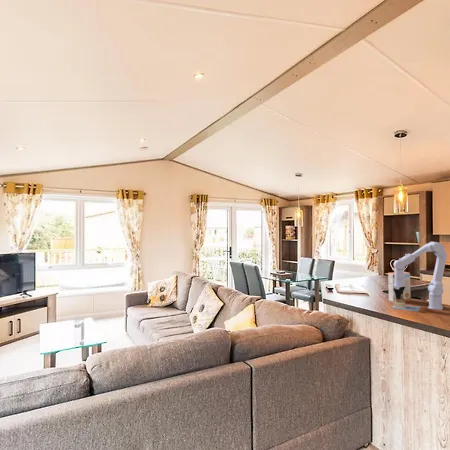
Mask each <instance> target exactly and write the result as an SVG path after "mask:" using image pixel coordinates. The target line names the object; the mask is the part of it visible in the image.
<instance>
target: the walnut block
mask: <svg viewBox="0 0 450 450" xmlns="http://www.w3.org/2000/svg"><path fill="white" fill-rule="evenodd" d="M396 302H398V303H403V294H401V298H400V300H399V299H396Z"/></svg>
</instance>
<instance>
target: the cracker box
mask: <svg viewBox="0 0 450 450" xmlns="http://www.w3.org/2000/svg"><path fill="white" fill-rule="evenodd" d="M387 281H388V285H387V286H388V301H389V302H392V303H394V301H396V295H395V292H394V290H393V288H396V287H395V286H394V285H393V284H395V277H394V272H388V273H387ZM404 287H405V289H404V291H403V301H404V302H411V299H412V298H411V273H410V272H407V271H404Z"/></svg>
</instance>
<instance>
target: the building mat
mask: <svg viewBox="0 0 450 450" xmlns="http://www.w3.org/2000/svg"><path fill="white" fill-rule="evenodd" d="M421 308H422V307H421V306H416V305H415V306H414V305H408V304H405V307H404V308H400V307H394V304H393V305H392V306H391V307H390V309H394V310H400V311H401V310H402V311H409V312H416V313H417V312H419V311H420V309H421Z"/></svg>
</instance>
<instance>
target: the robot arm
mask: <svg viewBox="0 0 450 450" xmlns="http://www.w3.org/2000/svg"><path fill="white" fill-rule="evenodd" d="M429 252H432V253H433V254H434V255H435V256H436V261H435V266H434V270H433V274H432V279H431V281H430V282H429V284H428V286H427V291H428V292H429V293H428V306H427V309H431V310H438V311H442V310H443V309H444V306H443V293H444V287H443V286H444V285H443V277H444V271H445V268H446V267H445V266H446V262H447V258H448V254H447V251H446V249H445V246H444V245H443V244H442V243H441V242H437V241H429V242H428V243H426V244H424V245H422V246H421V247H420V248H418V249H417V250H416V251H415V250H414V252H413V253H405V254H404V256H403V257H399V258H398V260H394V262H393V264H392V265H393V267H394V277H395V284H393V285H394V286H395V287H396V288H393V290H394V292H395V295H396V299H399V300H400V298H401V294H403V291H404V289H405V287H404V272H405V268H406V266H408V265H410V264H411V263H414V261H415V259H416V258H418V257H420V256H421V255H423V254H425V253H429Z"/></svg>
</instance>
